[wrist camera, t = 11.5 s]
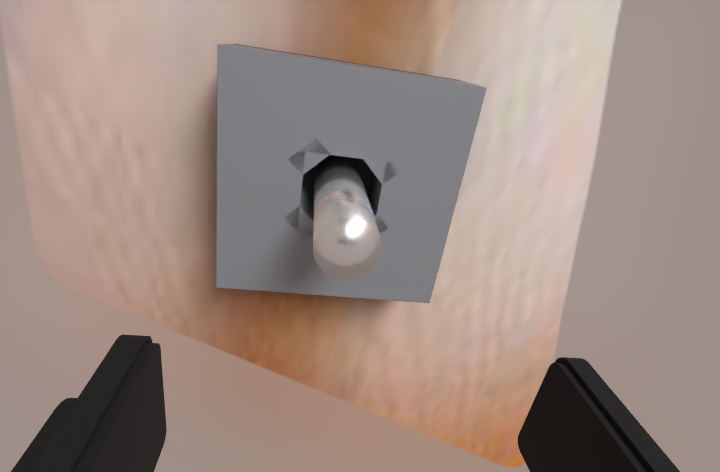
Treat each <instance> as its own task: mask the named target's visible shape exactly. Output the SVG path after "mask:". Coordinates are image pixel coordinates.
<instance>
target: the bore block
mask: <svg viewBox="0 0 720 472" xmlns="http://www.w3.org/2000/svg"><path fill="white" fill-rule="evenodd" d="M485 92H486V87H482V86H478V85H475V84H471V83H467V82H464V81H460V80H455V79H449V78H443V77H437V76H431V75H424V74H418V73H412V72H406V71H400V70H393V69H387V68H381V67H375V66H369V65H362V64H356V63H350V62H344V61H338V60H331V59H325V58H319V57H313V56H307V55H300V54H294V53H288V52H282V51H276V50H270V49H263V48H257V47H251V46H245V45H239V44H224V45H218V54H217V251H216V287H217V288H230V289H244V290H257V291H271V292H284V293H298V294H312V295H325V296H339V297H352V298H366V299H379V300H393V301H406V302H420V303H430V299H431V295H432V291H433V288H434V284H435V280H436V276H437V273H438V269H439V265H440V261H441V257H442V254H443V250H444V246H445V242H446V239H447V235H448V231H449V227H450V224H451V220H452V216H453V212H454V209H455V205H456V201H457V197H458V194H459V190H460V186H461V182H462V178H463V175H464V171H465V167H466V163H467V160H468V156H469V152H470V148H471V145H472V141H473V137H474V133H475V130H476V126H477V122H478V118H479V115H480V111H481V107H482V103H483V99H484V96H485ZM329 155H335V156H343V157H351V158H352V159H353V160H354V161H355V162H356V164H357V166H358V169H359V172H360V175H361V178H362V181H363V184H364V187H365V190H366V193H367V197H368V200H369V203H370V206H371V209H372V212H373V215H374V218H375V221H376V224H377V227H378V230H379V233H380V236H381V239H382V244H383V252H382V256H381V259H380V261H379V263H378V264H377V266H376V267H375V268H374V269H373V270H372V271H371V272H369V273H368V274H366V275H364V276H362V277H360V278H357V279H351V280H343V279H337V278H334V277H331V276H329V275H328V274H326V273H325V272H323V271H322V270H321V269H320V267H319V266H318V265H317V263H316V261H315V258H314V254H313V230H314V174H315V168H316V165H317V164H318V163H319V162H321V161H322V160H323V159H325V158H326V157H327V156H329Z"/></svg>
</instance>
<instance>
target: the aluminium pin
mask: <svg viewBox="0 0 720 472" xmlns="http://www.w3.org/2000/svg"><path fill="white" fill-rule="evenodd" d="M382 252H383V244H382V239H381V236H380V233H379V230H378V227H377V224H376V221H375V218H374V215H373V212H372V209H371V206H370V203H369V200H368V197H367V193H366V190H365V187H364V184H363V181H362V178H361V175H360V172H359V169H358V166H357V164H356V162H355V161H354V160H353V159H352V158H351V157H343V156H335V155H329V156H327V157H326V158H325V159H323V160H322V161H321V162H319V163H318V164H317V165H316V168H315V174H314V230H313V254H314V258H315V261H316V263H317V265H318V266H319V267H320V269H321V270H322V271H323V272H325V273H326V274H328V275H329V276H331V277H334V278H337V279H343V280H351V279H357V278H360V277H362V276H364V275H366V274H368V273H369V272H371V271H372V270H373V269H374V268H375V267H376V266H377V264H378V263H379V261H380V259H381V256H382Z"/></svg>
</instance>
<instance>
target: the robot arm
mask: <svg viewBox="0 0 720 472" xmlns="http://www.w3.org/2000/svg"><path fill="white" fill-rule="evenodd" d="M165 436H166V418H165V404H164V391H163V377H162V364H161V349H160V345H159V344H158V343H157V344H156V343H152V339H151V337H150V336H136V335H121V336H119V337H118V339H117V340H116V341H115V343H114V344H113V346H112V347H111V349H110V350H109V352H108V353H107V355H106V356H105V358H104V359H103V361H102V362H101V364H100V365H99V367H98V368H97V370H96V371H95V373H94V374H93V376H92V377H91V379H90V380H89V382H88V384H87V385H86V386H85V388H84V390H83V391H82V393H81V394H80V396H79V397H78V398H67V399H65V400H64V401H62V402H61V403H60V404H59V405H58V406H57V408H56V409H55V410H54V411H53V413H52V414H51V416H50V417H49V419H48V420H47V421H46V423H45V424H44V426H43V427H42V428H41V430H40V431H39V433H38V434H37V436H36V437H35V439H34V440H33V442H32V443H31V444H30V446H29V447H28V448H27V450H26V451H25V453H24V454H23V455H22V457H21V458H20V460H19V461H18V463H17V464H16V466H15V467H14V468H13V470H12V471H11V472H154V469H155V466H156V463H157V461H158V458H159V456H160V453H161V450H162V448H163V445H164V441H165ZM518 446H519V450H520V452H521V454H522V456H523V458H524V460H525V462H526V464H527V466H528V468H529V470H530V472H680V471H679V470H678V469H677V468H676V466H675V465H674V464H673V463H672V462H671V461H670V459H669V458H668V457H667V456H666V454H665V453H664V452H663V451H662V450H661V449H660V447H659V446H658V445H657V444H656V442H655V441H654V440H653V439H652V438H651V437H650V435H649V434H648V433H647V432H646V431H645V429H644V428H643V427H642V426H641V425H640V423H639V422H638V421H637V420H636V419H635V417H634V416H633V415H632V414H631V413H630V412H629V410H628V409H627V408H626V407H625V406H624V404H623V403H622V402H621V401H620V400H619V398H618V397H617V396H616V395H615V394H614V392H613V391H612V390H611V389H610V388H609V387H608V385H607V384H606V383H605V382H604V381H603V380H602V378H601V377H600V376H599V375H598V374H597V372H596V371H595V370H594V369H593V368H592V366H591V365H590V364H589V363H588V362H587V361H586V360H584V359H582V358H558V359H557V360H556V361H555V363H552V364H551V365H550V367H549V369H548V371H547V373H546V375H545V377H544V380H543V382H542V384H541V386H540V389H539V391H538V393H537V395H536V397H535V400H534V402H533V404H532V406H531V409H530V411H529V413H528V415H527V418H526V420H525V422H524V424H523V426H522V429H521V431H520V433H519V436H518Z"/></svg>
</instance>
